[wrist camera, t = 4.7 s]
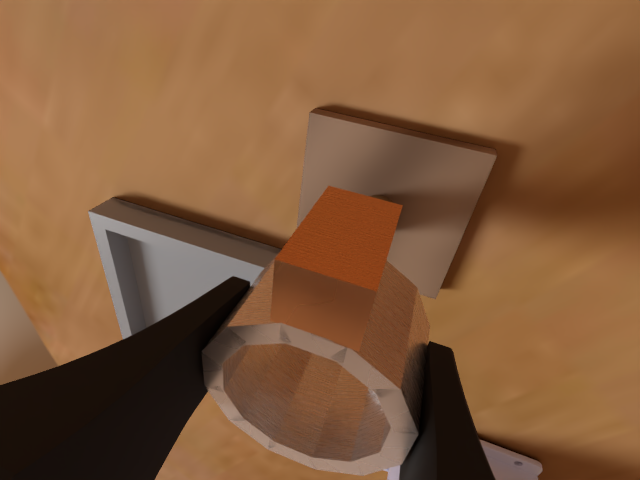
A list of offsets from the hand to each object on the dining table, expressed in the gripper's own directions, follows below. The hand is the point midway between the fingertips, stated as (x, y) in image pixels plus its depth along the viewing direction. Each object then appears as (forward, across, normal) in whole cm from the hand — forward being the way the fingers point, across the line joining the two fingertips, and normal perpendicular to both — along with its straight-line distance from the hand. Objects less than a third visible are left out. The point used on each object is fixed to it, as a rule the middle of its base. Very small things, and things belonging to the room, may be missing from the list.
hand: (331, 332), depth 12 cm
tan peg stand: (+9, 0, 0) cm, 9 cm away
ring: (+1, 0, 0) cm, 1 cm away
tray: (+9, +11, +11) cm, 18 cm away
